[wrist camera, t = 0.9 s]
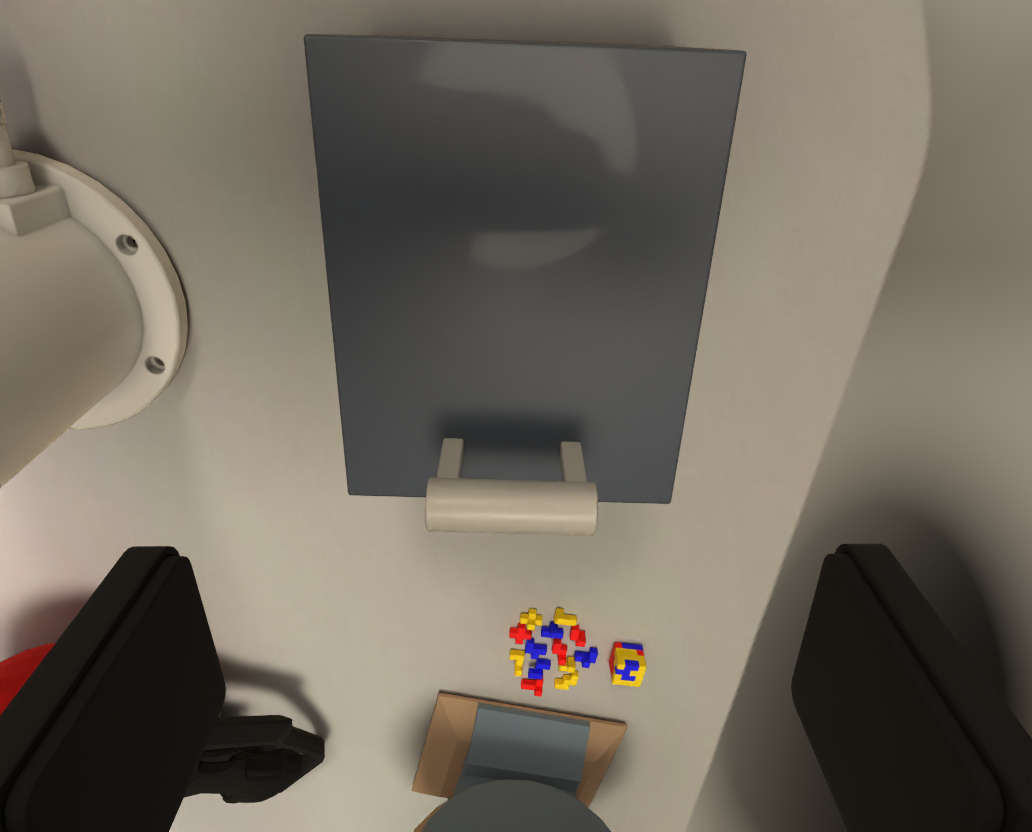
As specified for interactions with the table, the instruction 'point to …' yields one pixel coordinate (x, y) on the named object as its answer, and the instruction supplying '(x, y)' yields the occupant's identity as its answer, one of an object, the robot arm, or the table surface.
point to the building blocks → (623, 659)
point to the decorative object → (217, 745)
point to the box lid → (517, 266)
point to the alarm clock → (513, 767)
